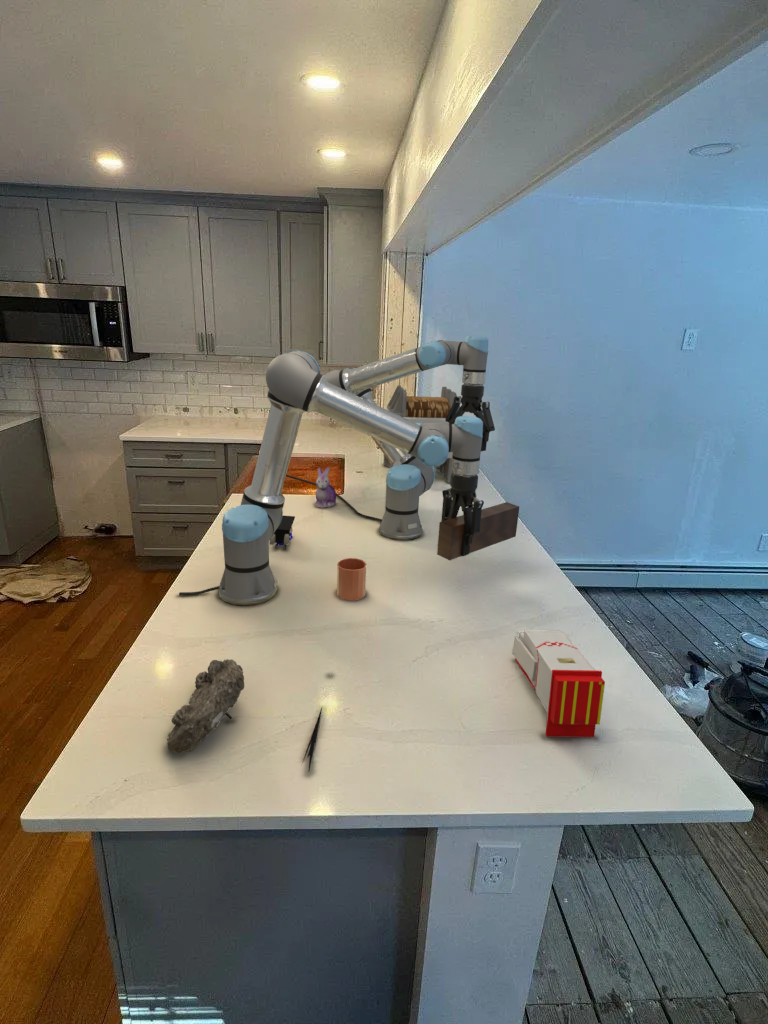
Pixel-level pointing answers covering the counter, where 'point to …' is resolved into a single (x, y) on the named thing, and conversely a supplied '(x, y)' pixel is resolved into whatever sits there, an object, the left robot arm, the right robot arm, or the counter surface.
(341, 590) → the terracotta cup
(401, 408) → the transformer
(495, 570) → the counter surface
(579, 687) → the toy
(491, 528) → the walnut box
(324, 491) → the figurine
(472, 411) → the right robot arm
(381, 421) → the left robot arm
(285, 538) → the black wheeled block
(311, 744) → the feather
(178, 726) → the fossil
